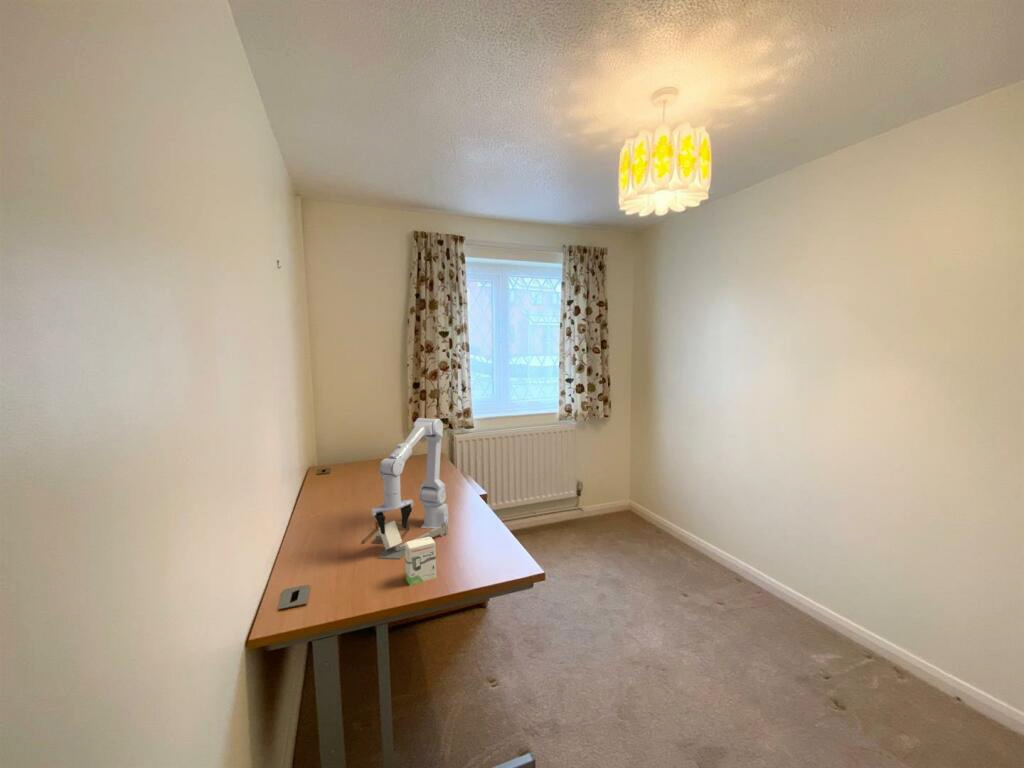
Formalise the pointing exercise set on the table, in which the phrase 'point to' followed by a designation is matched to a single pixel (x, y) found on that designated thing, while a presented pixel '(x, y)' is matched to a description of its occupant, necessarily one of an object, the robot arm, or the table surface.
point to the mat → (392, 553)
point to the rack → (399, 524)
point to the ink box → (420, 560)
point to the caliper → (430, 534)
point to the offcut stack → (378, 539)
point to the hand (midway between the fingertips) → (393, 530)
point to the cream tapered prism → (390, 535)
